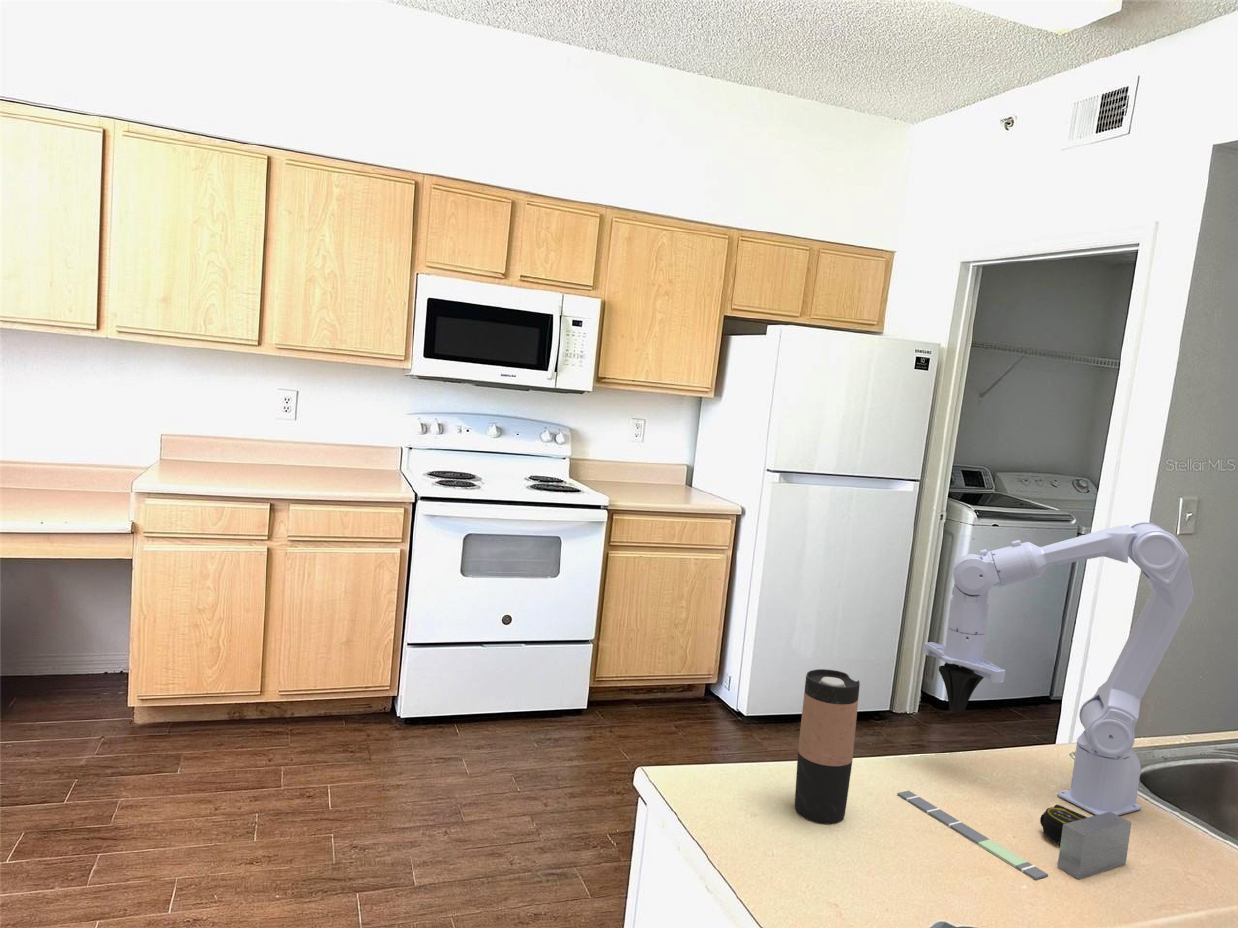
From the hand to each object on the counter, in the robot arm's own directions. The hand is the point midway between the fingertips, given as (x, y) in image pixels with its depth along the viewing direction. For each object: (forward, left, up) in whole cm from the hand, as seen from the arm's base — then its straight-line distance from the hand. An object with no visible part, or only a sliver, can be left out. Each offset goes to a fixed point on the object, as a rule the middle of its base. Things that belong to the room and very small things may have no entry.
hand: (956, 710), depth 142 cm
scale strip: (+14, +15, -10) cm, 23 cm away
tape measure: (0, +21, -11) cm, 24 cm away
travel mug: (+30, +3, -11) cm, 32 cm away
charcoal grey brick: (+4, +28, -10) cm, 30 cm away
